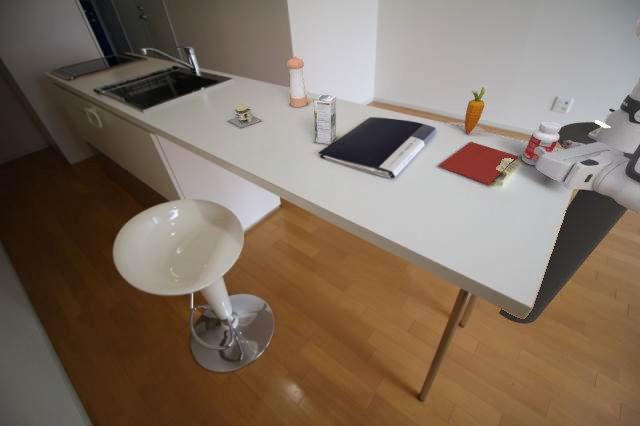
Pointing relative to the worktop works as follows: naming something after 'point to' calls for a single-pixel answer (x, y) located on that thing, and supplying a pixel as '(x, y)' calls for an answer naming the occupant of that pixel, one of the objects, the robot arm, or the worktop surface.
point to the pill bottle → (542, 141)
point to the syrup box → (325, 118)
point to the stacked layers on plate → (243, 116)
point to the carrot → (474, 111)
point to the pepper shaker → (297, 82)
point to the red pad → (476, 162)
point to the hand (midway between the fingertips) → (550, 145)
